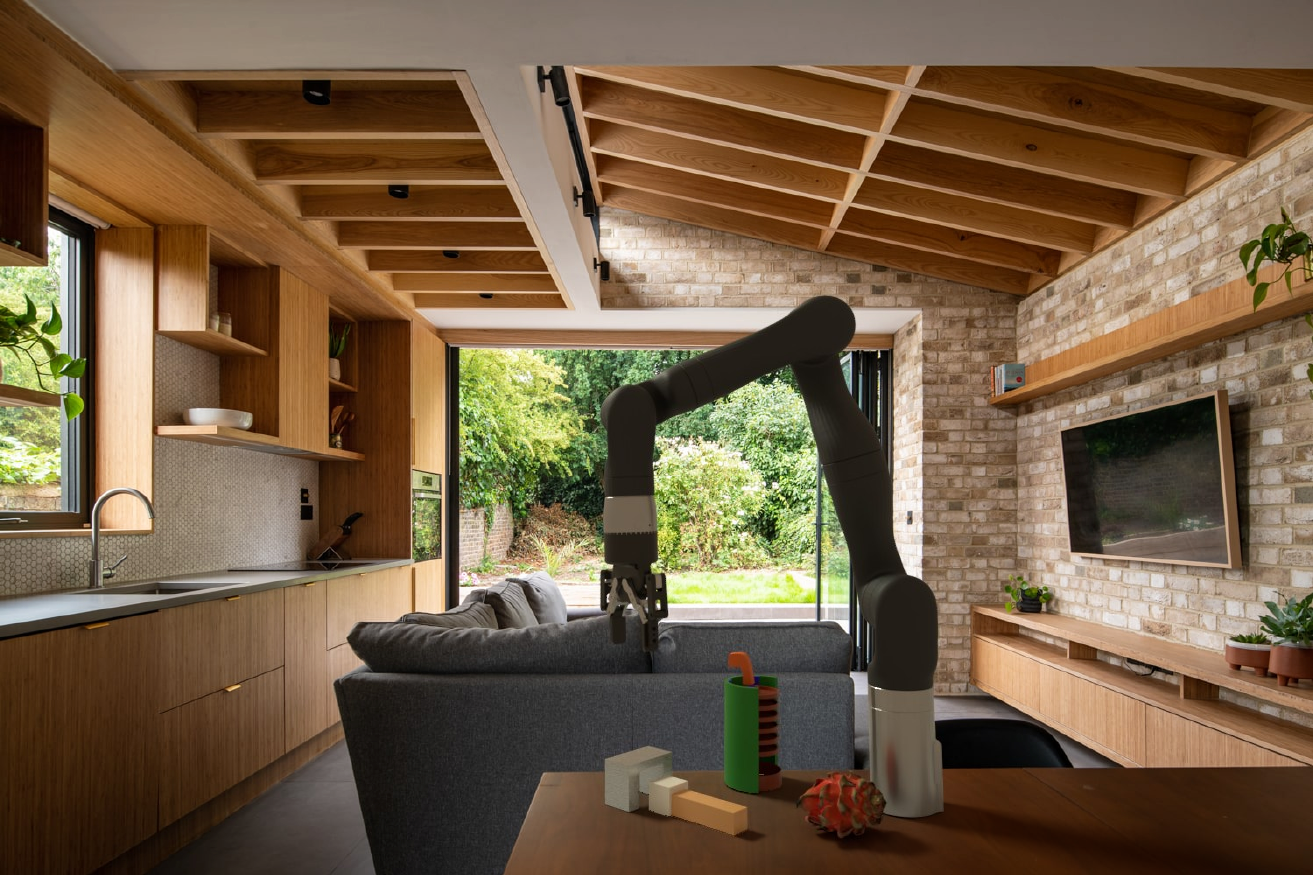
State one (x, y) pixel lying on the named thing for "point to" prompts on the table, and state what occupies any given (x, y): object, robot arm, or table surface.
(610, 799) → the block
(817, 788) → the dragon fruit
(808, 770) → the table surface
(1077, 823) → the table surface
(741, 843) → the table surface
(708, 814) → the plug
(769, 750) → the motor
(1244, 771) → the table surface
